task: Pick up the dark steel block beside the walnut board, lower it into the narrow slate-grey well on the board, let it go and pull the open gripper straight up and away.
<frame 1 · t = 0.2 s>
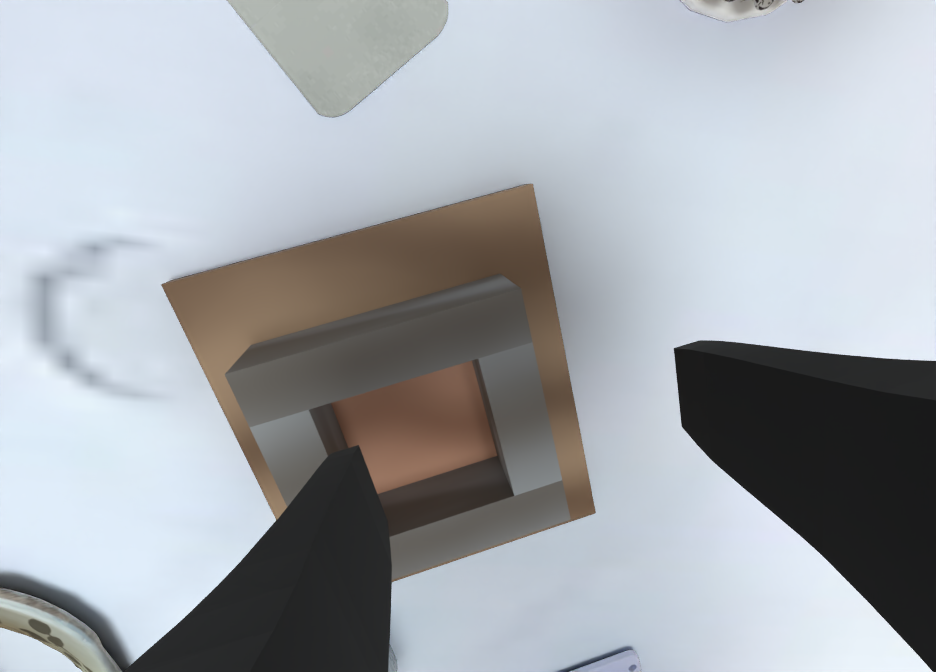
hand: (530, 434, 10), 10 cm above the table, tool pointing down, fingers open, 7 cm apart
well board: (413, 409, 20), on the table
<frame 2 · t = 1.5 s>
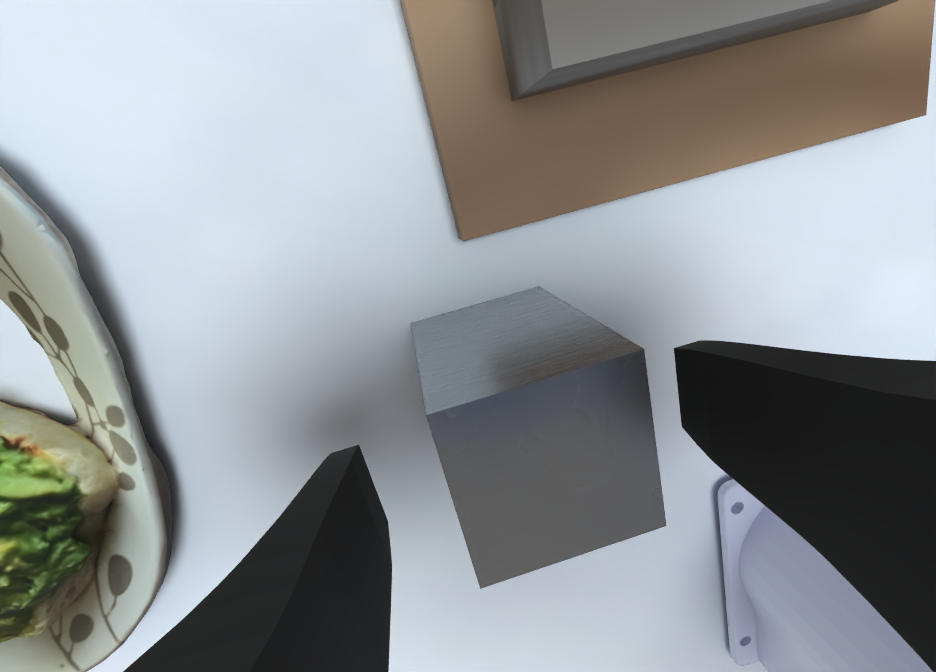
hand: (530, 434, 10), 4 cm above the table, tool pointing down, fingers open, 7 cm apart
steel block: (490, 364, 14), on the table
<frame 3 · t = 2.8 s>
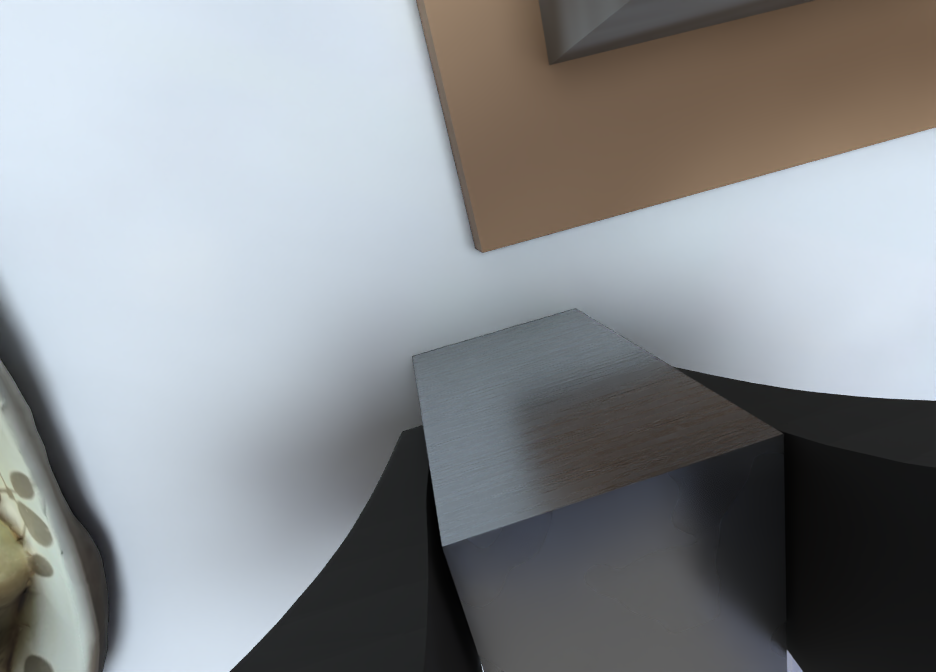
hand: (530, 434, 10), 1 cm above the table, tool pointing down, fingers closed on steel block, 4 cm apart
steel block: (513, 406, 11), on the table, touching gripper
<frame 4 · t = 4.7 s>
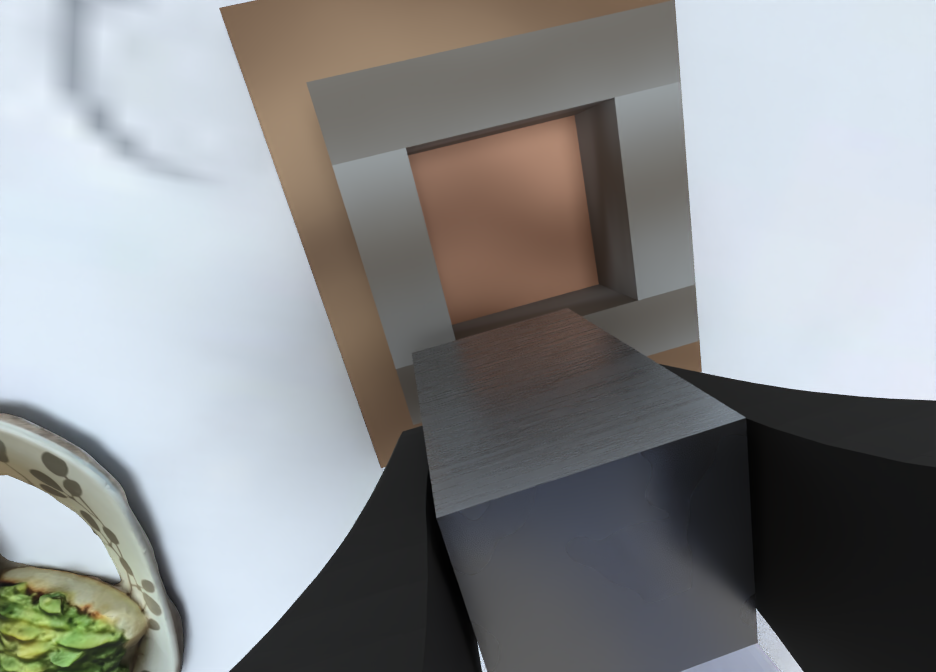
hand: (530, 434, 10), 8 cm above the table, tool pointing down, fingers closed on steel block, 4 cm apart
steel block: (507, 401, 12), point 7 cm above the table, touching gripper
well board: (502, 223, 17), on the table
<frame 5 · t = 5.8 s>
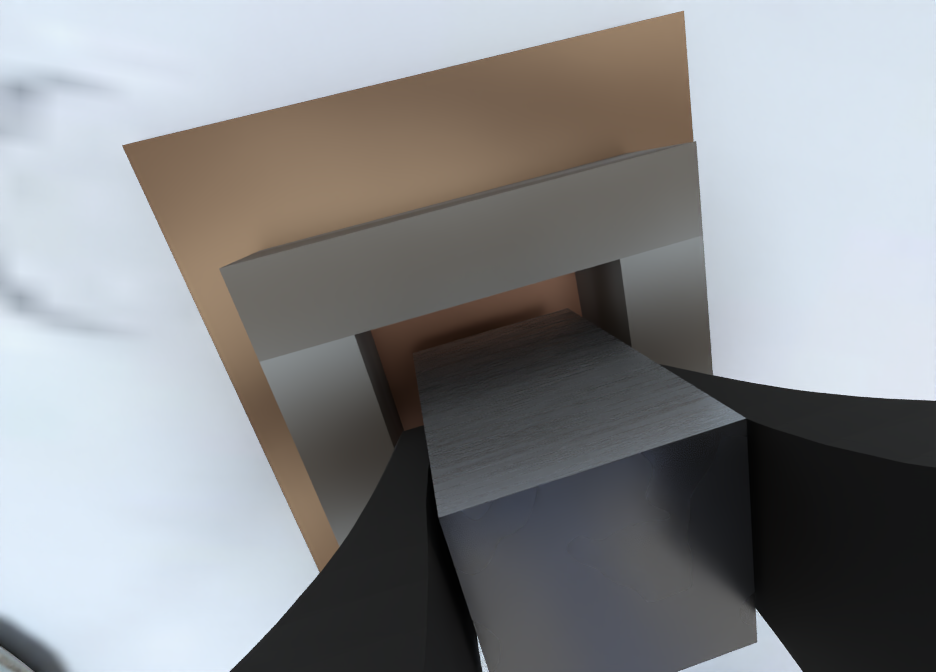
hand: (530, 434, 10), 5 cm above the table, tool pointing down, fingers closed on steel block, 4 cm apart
steel block: (508, 401, 12), point 3 cm above the table, touching gripper
well board: (485, 360, 14), on the table
when the fingers open (5 cm above the table, at t = 6.5 s): steel block drops 2 cm, resting on well board.
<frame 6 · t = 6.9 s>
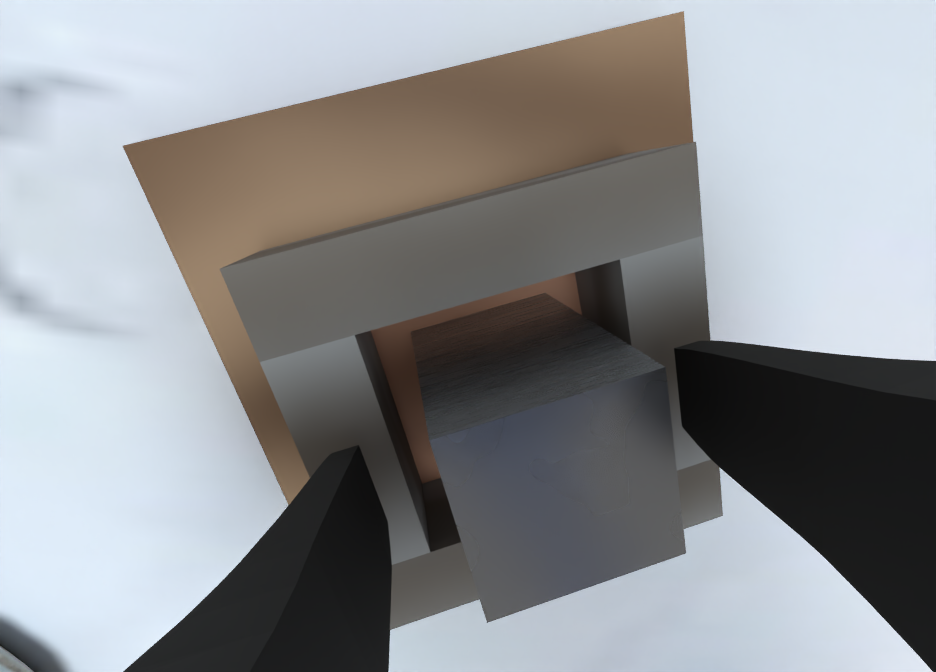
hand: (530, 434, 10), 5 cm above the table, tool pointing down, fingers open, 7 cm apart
steel block: (494, 374, 14), point 1 cm above the table, touching well board
well board: (486, 360, 14), on the table
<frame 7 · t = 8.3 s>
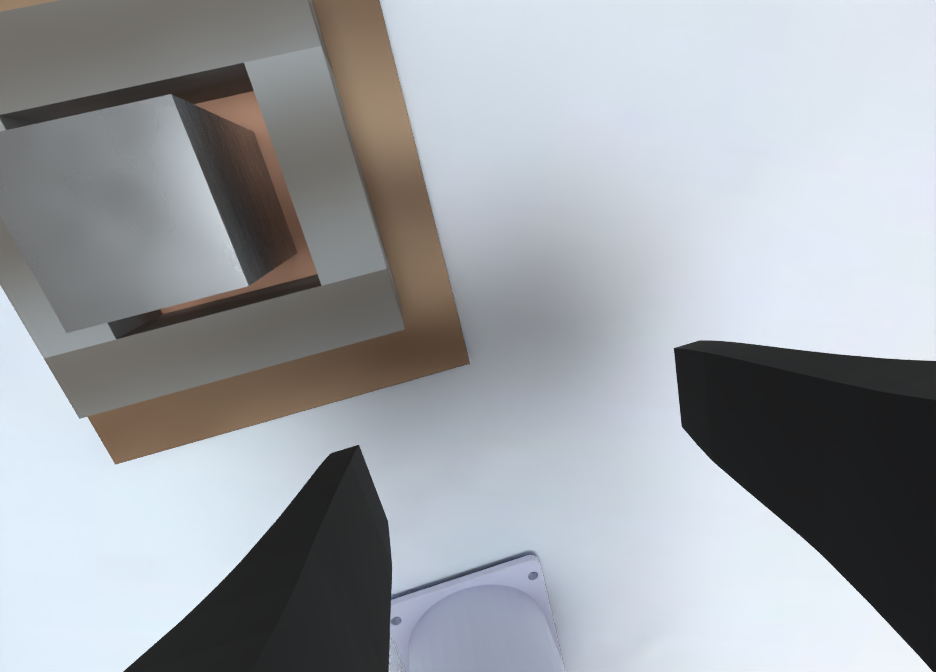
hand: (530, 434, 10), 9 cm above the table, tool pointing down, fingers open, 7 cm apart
steel block: (216, 209, 15), point 1 cm above the table, touching well board
well board: (223, 205, 16), on the table
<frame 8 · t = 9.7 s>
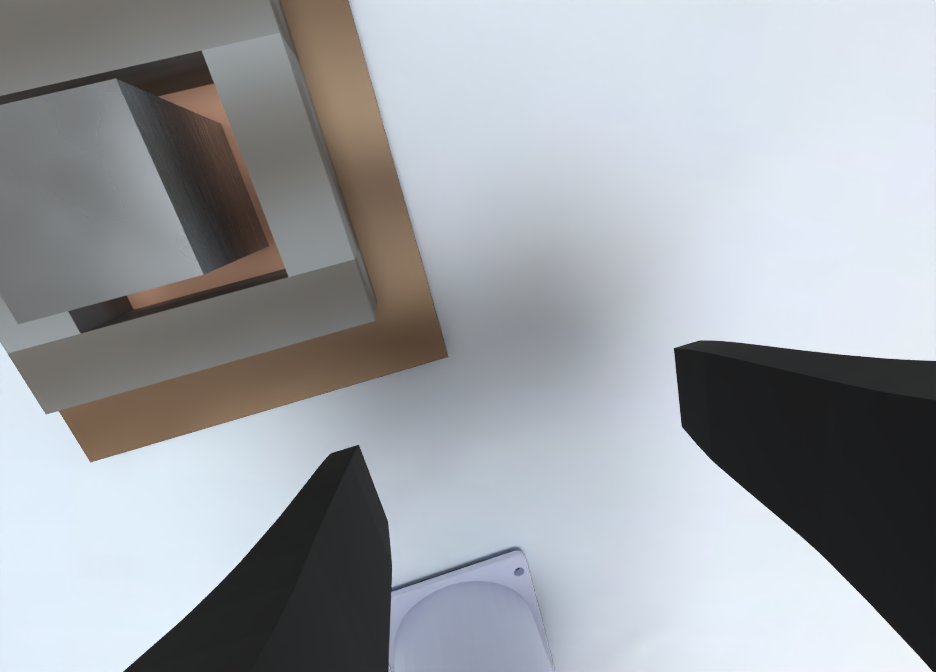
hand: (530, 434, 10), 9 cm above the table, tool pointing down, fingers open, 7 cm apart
steel block: (185, 202, 15), point 1 cm above the table, touching well board
well board: (193, 199, 16), on the table
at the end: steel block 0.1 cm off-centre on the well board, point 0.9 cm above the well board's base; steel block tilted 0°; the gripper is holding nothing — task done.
